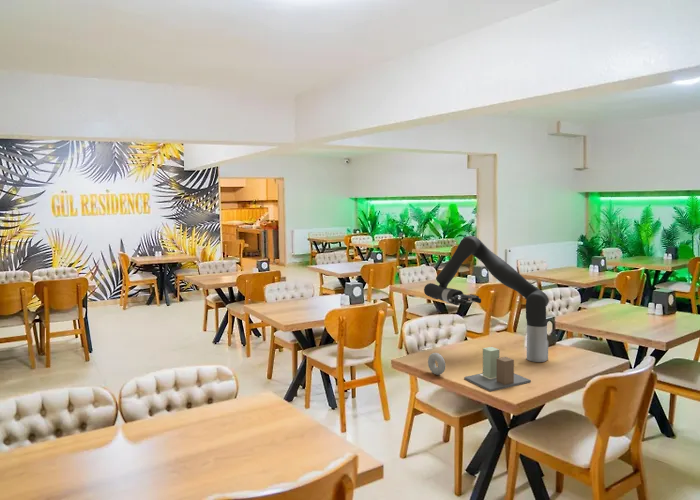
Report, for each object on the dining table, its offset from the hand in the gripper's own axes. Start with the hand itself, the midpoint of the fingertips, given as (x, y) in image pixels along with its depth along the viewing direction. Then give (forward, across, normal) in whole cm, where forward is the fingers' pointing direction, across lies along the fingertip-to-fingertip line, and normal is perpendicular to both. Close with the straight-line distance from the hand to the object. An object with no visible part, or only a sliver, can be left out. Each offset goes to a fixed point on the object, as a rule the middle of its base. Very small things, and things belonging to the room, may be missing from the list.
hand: (473, 301), depth 252 cm
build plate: (+24, -6, +30) cm, 39 cm away
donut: (+4, -24, +30) cm, 39 cm away
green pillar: (+20, -6, +29) cm, 35 cm away
